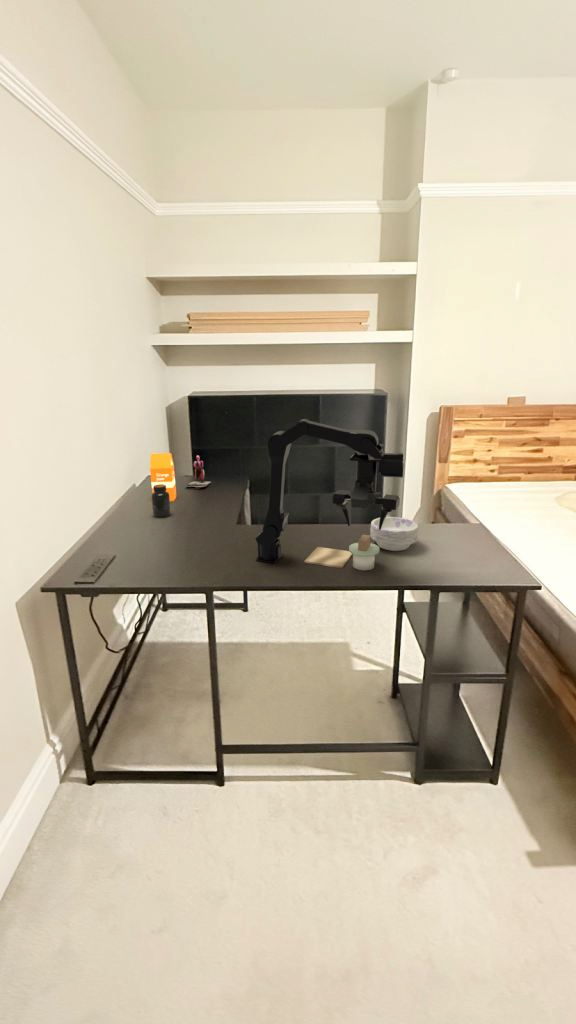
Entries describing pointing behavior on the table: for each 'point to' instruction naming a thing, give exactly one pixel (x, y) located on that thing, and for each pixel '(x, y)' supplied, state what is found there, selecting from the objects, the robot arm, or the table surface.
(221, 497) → the table surface
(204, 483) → the statue
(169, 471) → the orange juice
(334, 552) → the mat
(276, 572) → the table surface
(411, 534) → the paper bowls
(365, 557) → the ramekin
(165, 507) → the supplement bottle
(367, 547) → the cover
